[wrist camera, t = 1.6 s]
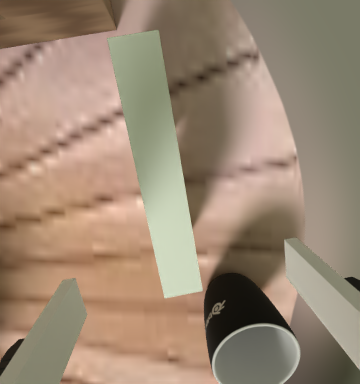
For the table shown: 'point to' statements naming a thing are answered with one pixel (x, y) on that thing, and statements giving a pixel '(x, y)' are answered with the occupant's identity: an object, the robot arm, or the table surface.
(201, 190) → the table surface
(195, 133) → the table surface
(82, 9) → the slotted board
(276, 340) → the mug
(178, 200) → the sage plate
